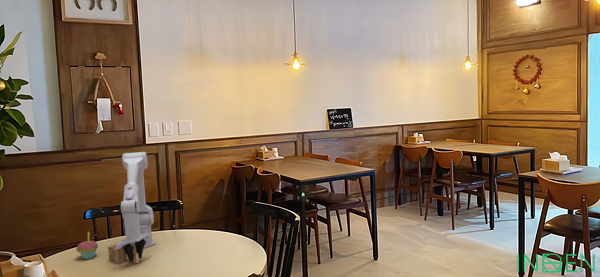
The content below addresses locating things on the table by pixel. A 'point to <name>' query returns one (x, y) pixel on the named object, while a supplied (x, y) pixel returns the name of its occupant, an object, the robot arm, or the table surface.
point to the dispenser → (118, 253)
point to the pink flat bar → (135, 257)
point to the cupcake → (87, 248)
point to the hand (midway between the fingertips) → (135, 259)
